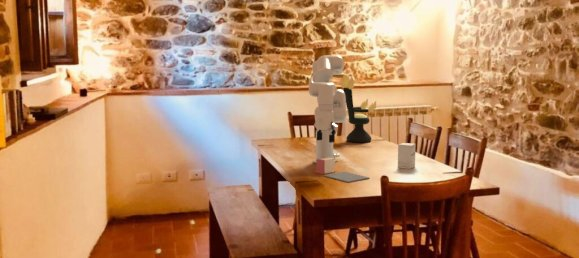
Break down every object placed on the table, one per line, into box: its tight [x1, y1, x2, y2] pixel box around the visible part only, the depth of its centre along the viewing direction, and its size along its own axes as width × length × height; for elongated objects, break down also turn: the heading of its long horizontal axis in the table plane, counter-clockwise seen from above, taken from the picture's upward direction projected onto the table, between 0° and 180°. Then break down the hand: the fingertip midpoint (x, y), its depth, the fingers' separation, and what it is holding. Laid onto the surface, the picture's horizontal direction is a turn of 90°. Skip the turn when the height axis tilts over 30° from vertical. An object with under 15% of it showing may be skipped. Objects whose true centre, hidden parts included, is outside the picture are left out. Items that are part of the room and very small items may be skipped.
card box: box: [315, 157, 335, 175], centre depth 316 cm, size 8×4×7 cm, turn 127°
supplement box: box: [397, 142, 417, 170], centre depth 327 cm, size 7×7×13 cm
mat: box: [323, 171, 370, 184], centre depth 303 cm, size 14×18×1 cm
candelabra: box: [340, 74, 377, 144], centre depth 410 cm, size 19×22×45 cm
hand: (325, 141), depth 314 cm, fingers open, 9 cm apart
